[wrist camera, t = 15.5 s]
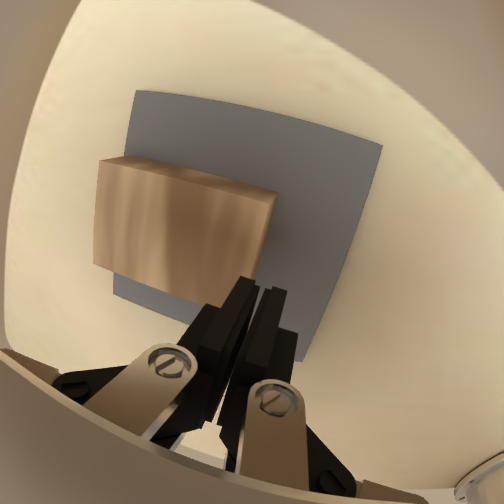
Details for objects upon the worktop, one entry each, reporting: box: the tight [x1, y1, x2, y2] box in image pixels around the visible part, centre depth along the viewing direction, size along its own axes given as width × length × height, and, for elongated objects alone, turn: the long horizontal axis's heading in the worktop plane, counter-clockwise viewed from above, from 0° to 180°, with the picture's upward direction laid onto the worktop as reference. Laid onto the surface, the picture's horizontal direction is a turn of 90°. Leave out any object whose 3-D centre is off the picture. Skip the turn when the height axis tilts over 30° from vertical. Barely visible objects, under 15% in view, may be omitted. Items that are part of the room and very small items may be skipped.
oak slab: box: [93, 155, 278, 308], centre depth 16 cm, size 3×6×9 cm
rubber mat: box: [113, 90, 383, 362], centre depth 18 cm, size 14×14×1 cm
